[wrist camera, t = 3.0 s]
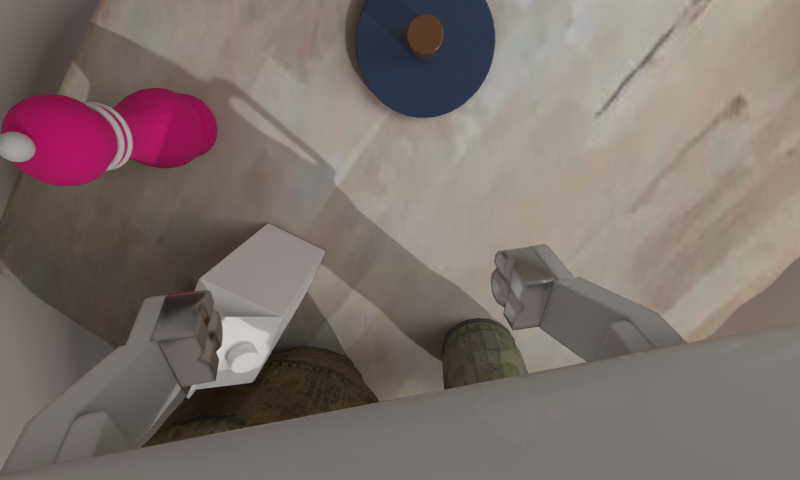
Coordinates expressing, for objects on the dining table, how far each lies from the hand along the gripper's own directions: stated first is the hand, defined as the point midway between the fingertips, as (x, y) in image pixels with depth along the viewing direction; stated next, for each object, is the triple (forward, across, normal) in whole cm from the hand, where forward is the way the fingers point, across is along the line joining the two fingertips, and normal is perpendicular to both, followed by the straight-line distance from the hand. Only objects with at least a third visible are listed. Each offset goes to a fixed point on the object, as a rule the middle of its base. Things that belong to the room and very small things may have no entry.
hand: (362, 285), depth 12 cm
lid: (+32, -10, 0) cm, 33 cm away
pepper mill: (+36, +13, +8) cm, 40 cm away
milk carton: (+30, +6, +22) cm, 38 cm away
